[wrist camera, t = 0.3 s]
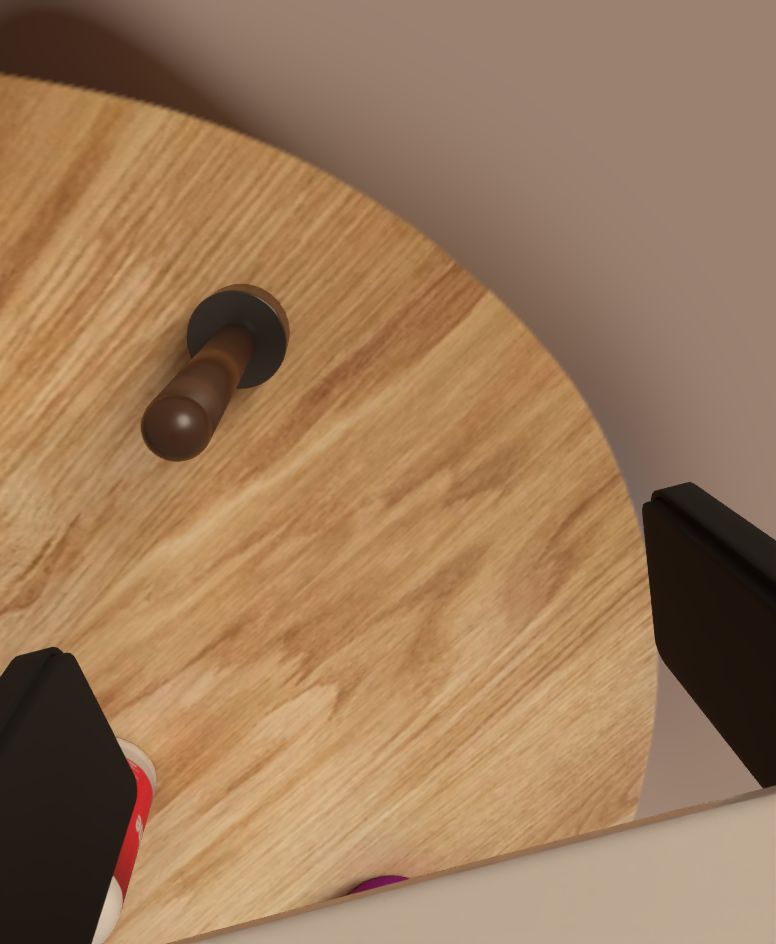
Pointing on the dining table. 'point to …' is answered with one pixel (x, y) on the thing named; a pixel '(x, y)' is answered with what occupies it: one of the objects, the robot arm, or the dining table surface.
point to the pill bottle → (128, 839)
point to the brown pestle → (216, 368)
